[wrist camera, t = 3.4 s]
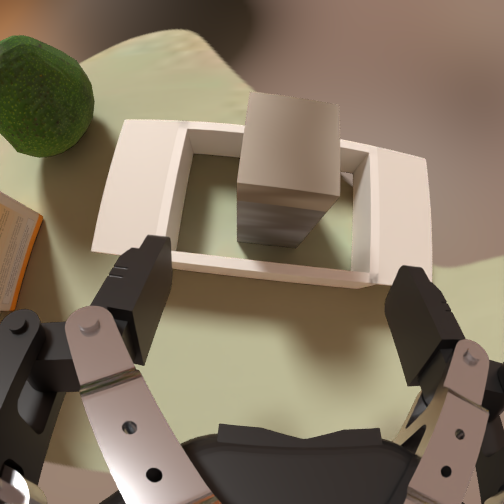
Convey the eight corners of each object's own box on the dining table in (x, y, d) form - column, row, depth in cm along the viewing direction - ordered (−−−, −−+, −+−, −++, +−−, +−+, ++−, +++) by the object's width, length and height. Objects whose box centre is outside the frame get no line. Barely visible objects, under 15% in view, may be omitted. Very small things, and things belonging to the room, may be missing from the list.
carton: (111, 260, 21) (91, 250, 18) (137, 143, 23) (124, 119, 20) (406, 293, 22) (431, 288, 18) (405, 177, 23) (425, 158, 20)
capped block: (237, 241, 22) (236, 182, 12) (244, 180, 23) (249, 91, 13) (295, 248, 22) (340, 196, 12) (300, 186, 23) (339, 104, 13)
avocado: (22, 143, 23) (-52, 71, 11) (83, 85, 24) (32, -5, 12) (57, 194, 22) (-37, 120, 10) (127, 127, 23) (72, 18, 12)
